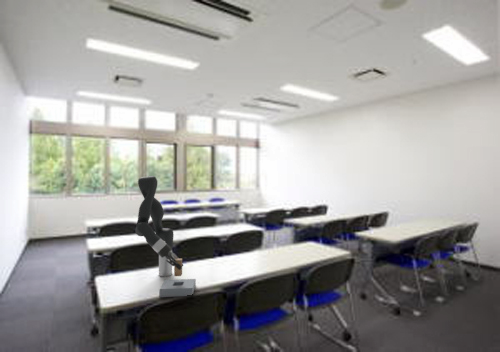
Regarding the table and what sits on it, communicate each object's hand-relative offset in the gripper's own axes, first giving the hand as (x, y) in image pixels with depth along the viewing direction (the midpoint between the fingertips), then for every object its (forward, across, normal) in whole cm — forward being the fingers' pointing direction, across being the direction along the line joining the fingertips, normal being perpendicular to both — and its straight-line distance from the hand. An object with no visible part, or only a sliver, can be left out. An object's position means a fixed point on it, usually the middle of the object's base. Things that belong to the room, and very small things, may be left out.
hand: (181, 267), depth 164 cm
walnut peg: (+2, 0, +5) cm, 5 cm away
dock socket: (+9, 0, +11) cm, 14 cm away
